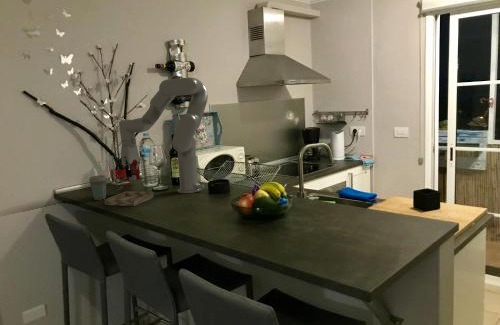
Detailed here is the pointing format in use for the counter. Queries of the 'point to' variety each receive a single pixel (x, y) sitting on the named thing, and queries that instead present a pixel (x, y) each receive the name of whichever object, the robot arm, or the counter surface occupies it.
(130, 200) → the tray
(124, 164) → the robot arm
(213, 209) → the counter surface
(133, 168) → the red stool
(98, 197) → the coffee cup
